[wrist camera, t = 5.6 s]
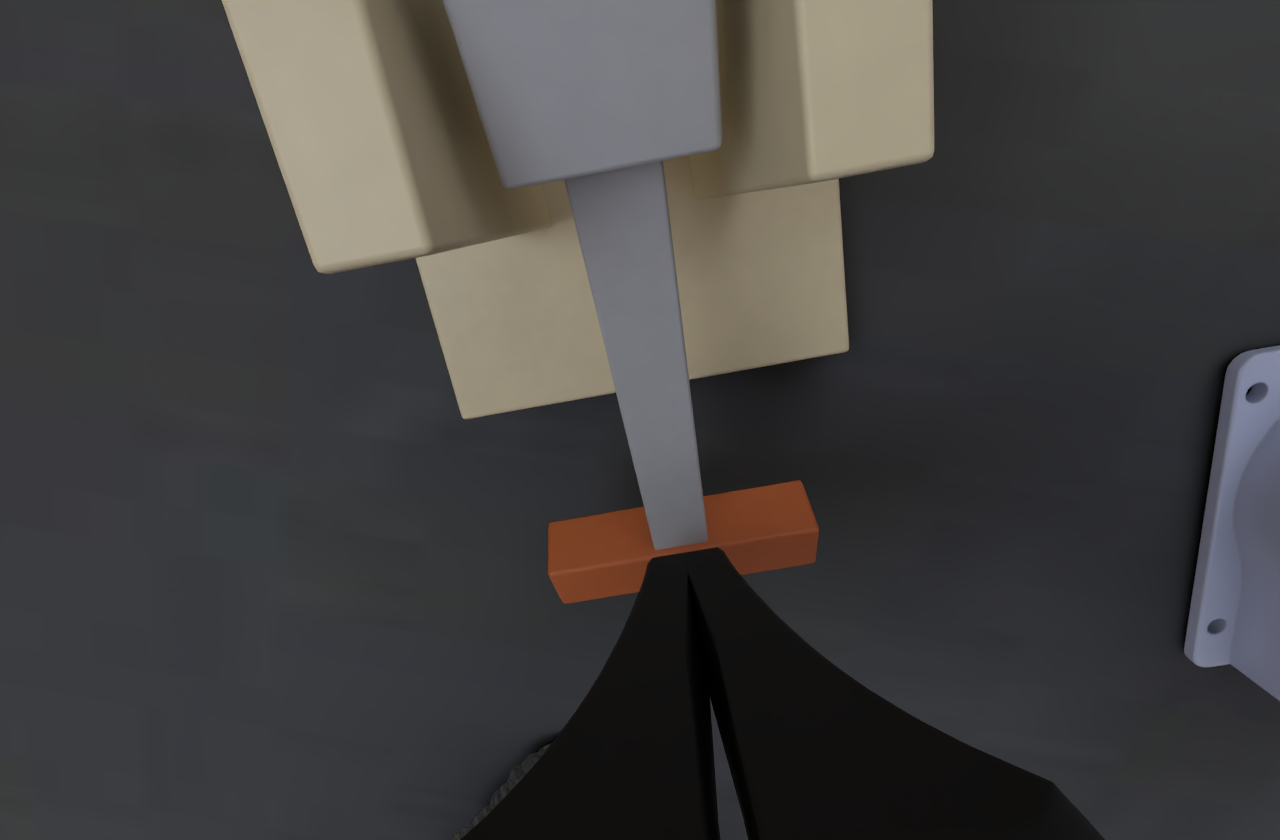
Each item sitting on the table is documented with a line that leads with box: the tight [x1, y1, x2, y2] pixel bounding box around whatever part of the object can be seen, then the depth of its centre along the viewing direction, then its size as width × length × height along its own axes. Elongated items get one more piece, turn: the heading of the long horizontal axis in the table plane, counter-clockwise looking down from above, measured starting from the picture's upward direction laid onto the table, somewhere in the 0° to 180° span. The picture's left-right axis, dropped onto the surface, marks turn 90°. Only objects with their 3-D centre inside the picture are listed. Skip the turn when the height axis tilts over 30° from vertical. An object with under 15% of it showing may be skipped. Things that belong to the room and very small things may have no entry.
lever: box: [442, 0, 819, 604], centre depth 9 cm, size 12×6×2 cm, turn 10°
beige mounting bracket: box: [222, 0, 934, 419], centre depth 8 cm, size 12×9×9 cm
